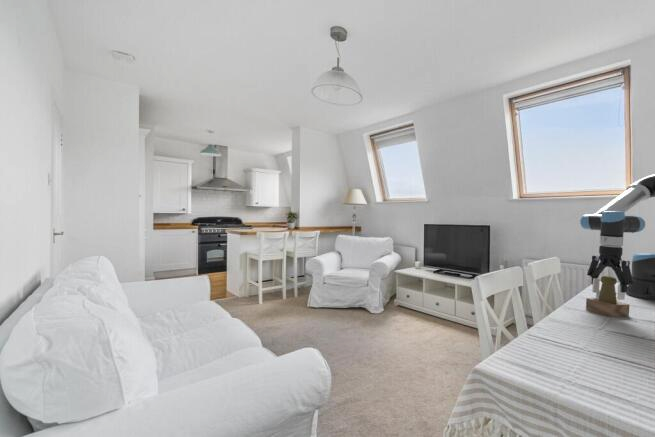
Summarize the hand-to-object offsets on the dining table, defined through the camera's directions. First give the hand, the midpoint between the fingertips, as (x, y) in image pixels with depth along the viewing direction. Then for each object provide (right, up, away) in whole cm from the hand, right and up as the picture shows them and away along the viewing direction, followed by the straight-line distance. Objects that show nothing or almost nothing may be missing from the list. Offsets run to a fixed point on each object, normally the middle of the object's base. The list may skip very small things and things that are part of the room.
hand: (607, 295), depth 134 cm
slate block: (+11, -7, +13) cm, 19 cm away
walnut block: (0, -7, 0) cm, 7 cm away
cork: (0, -3, 0) cm, 3 cm away
